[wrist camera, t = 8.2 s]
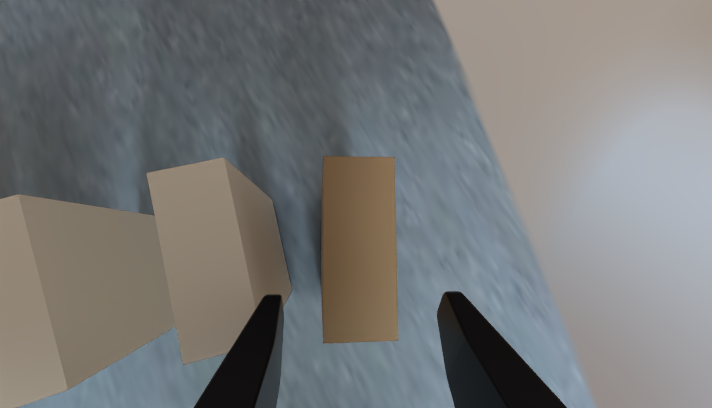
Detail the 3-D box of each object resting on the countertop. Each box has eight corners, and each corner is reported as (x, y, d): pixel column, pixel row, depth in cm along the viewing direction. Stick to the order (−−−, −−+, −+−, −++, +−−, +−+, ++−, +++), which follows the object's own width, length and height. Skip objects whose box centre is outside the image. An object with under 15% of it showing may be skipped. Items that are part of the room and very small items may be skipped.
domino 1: (175, 218, 19) (18, 194, 9) (202, 310, 19) (68, 389, 9) (137, 230, 19) (-70, 217, 9) (162, 323, 18) (-22, 420, 8)
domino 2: (272, 199, 20) (223, 157, 10) (292, 290, 19) (262, 343, 9) (234, 207, 19) (146, 173, 9) (254, 300, 19) (183, 365, 9)
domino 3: (357, 198, 20) (394, 157, 10) (358, 290, 19) (398, 340, 10) (321, 198, 20) (323, 156, 10) (321, 291, 19) (323, 343, 9)
